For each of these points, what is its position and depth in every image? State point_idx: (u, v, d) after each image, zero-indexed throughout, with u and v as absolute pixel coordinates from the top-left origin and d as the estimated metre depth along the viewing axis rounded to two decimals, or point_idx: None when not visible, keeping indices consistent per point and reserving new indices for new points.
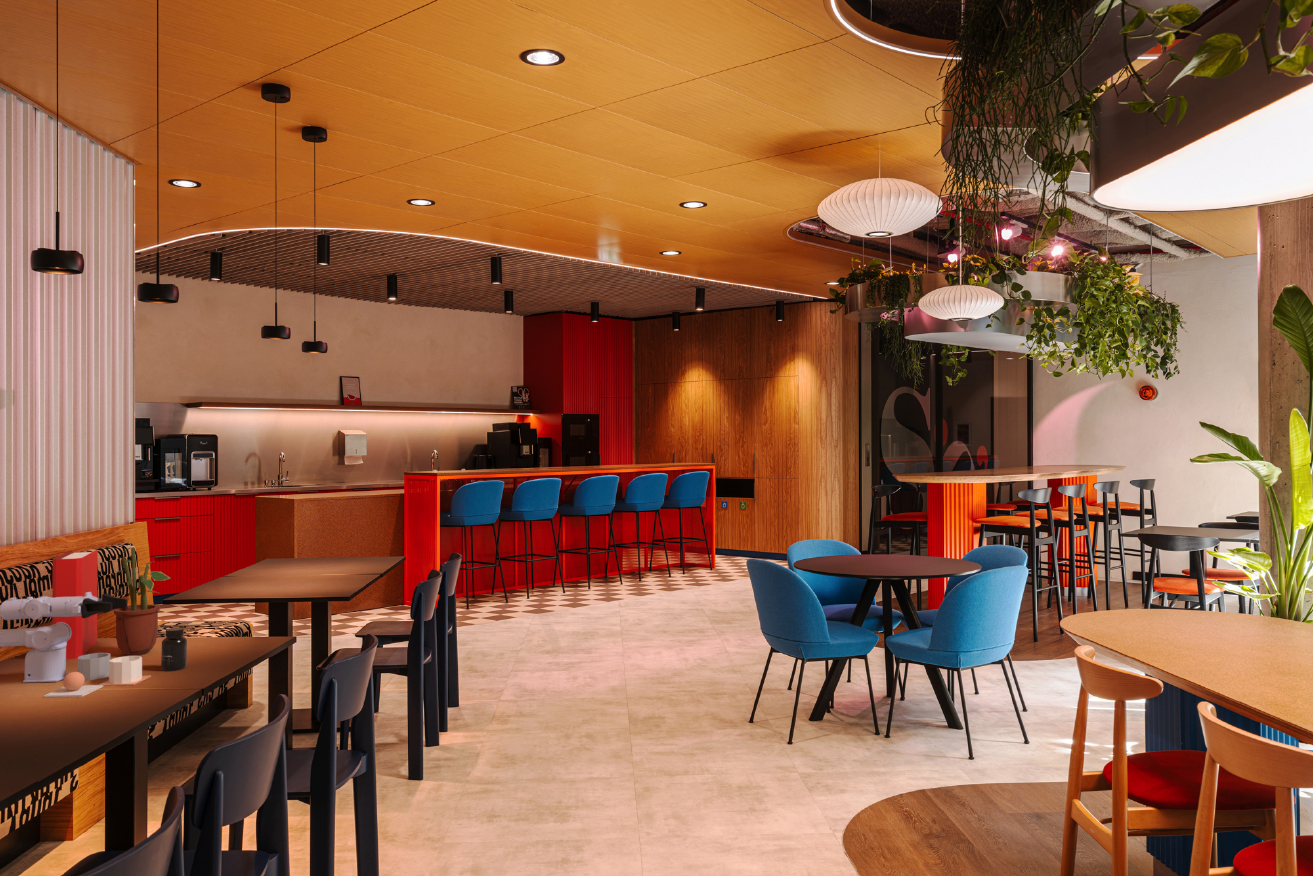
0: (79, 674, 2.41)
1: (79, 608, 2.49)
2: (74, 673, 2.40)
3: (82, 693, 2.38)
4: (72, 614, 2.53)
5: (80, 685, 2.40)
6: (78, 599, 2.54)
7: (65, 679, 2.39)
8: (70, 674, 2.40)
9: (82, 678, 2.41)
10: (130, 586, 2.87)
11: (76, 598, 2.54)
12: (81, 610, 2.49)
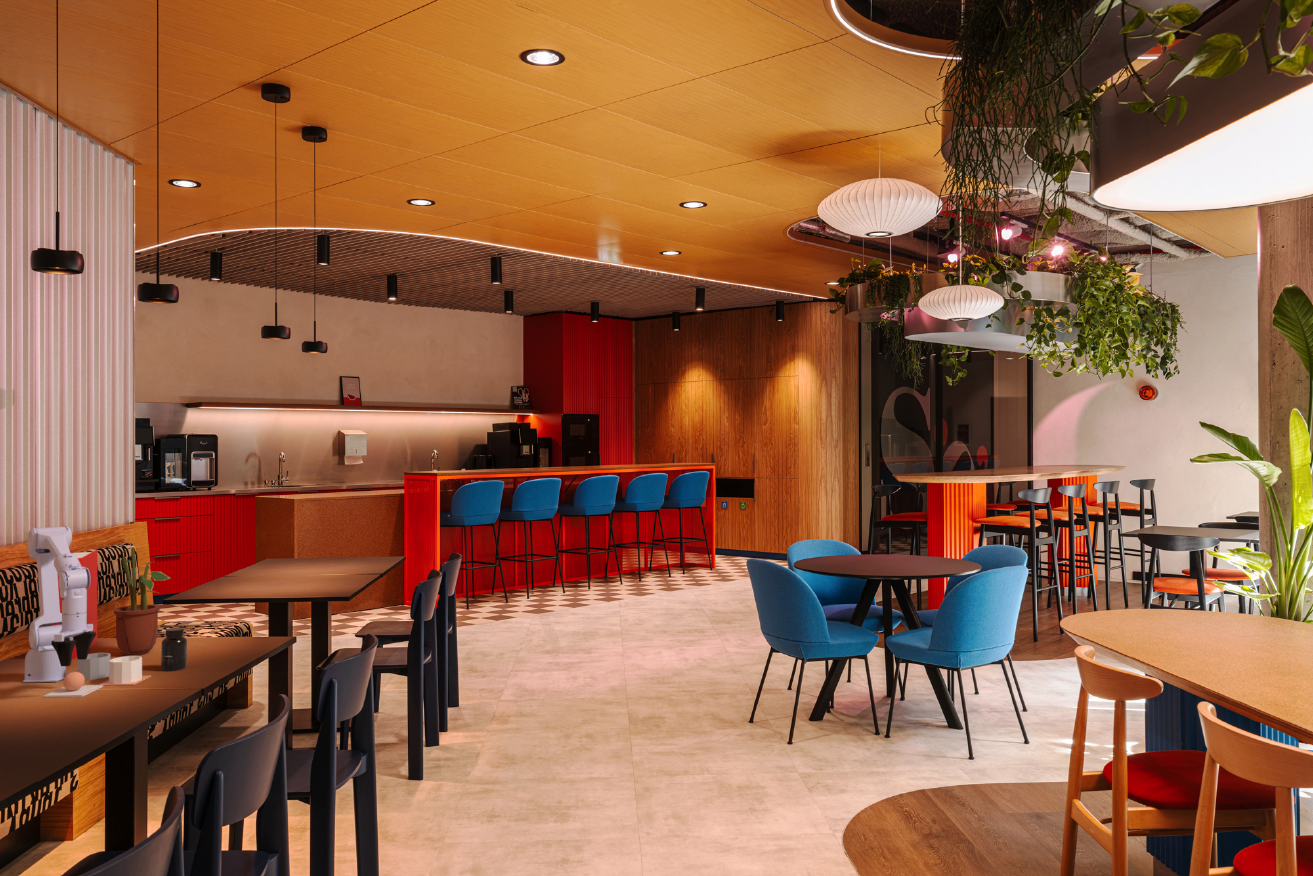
0: (79, 674, 2.41)
1: None
2: (74, 673, 2.40)
3: (82, 693, 2.38)
4: (62, 619, 2.39)
5: (80, 685, 2.40)
6: (78, 625, 2.40)
7: (65, 679, 2.39)
8: (70, 674, 2.40)
9: (82, 678, 2.41)
10: (130, 586, 2.87)
11: (80, 621, 2.40)
12: None
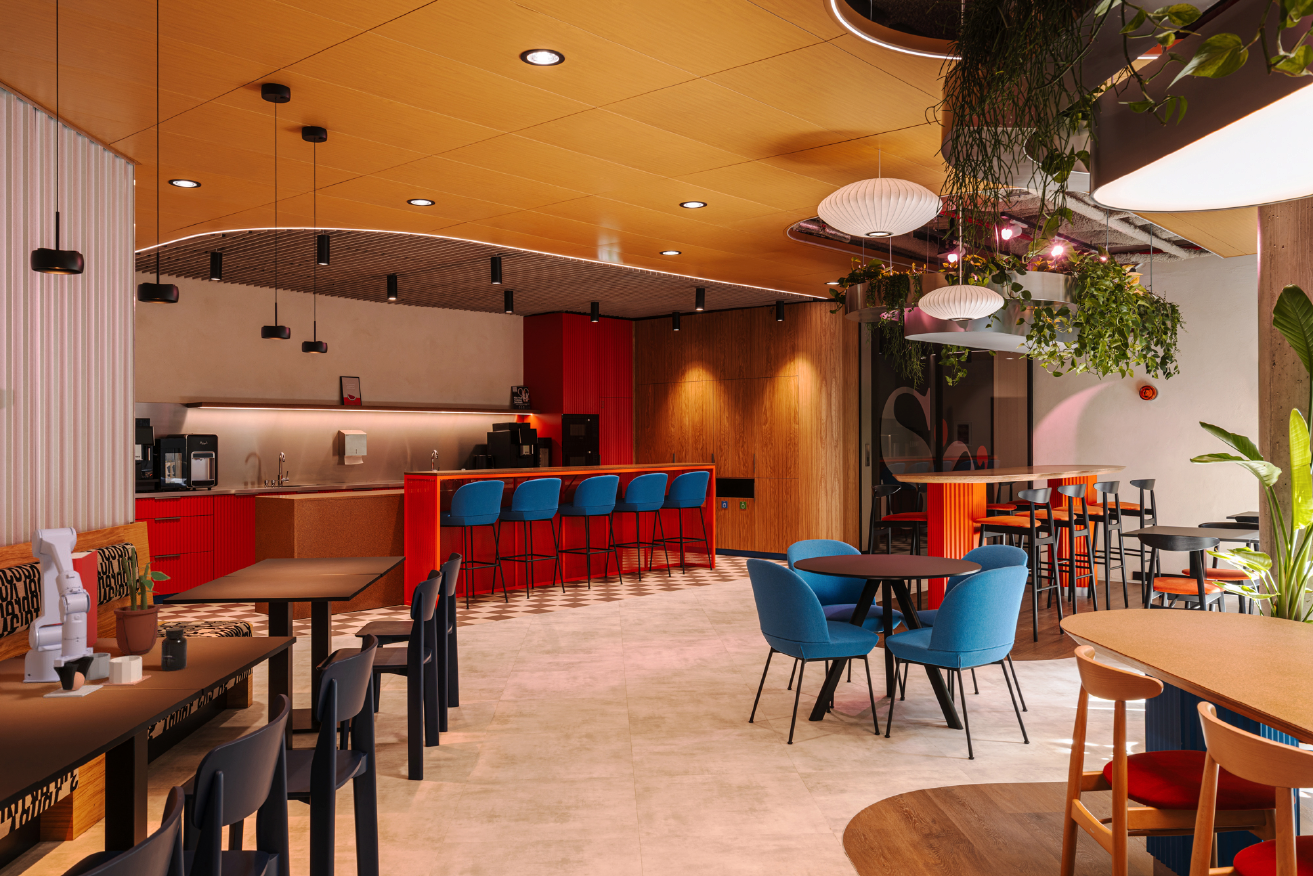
0: (79, 674, 2.41)
1: None
2: None
3: (82, 693, 2.38)
4: (62, 644, 2.39)
5: (80, 685, 2.40)
6: (78, 649, 2.39)
7: None
8: None
9: (82, 678, 2.41)
10: (130, 586, 2.87)
11: (80, 646, 2.40)
12: None
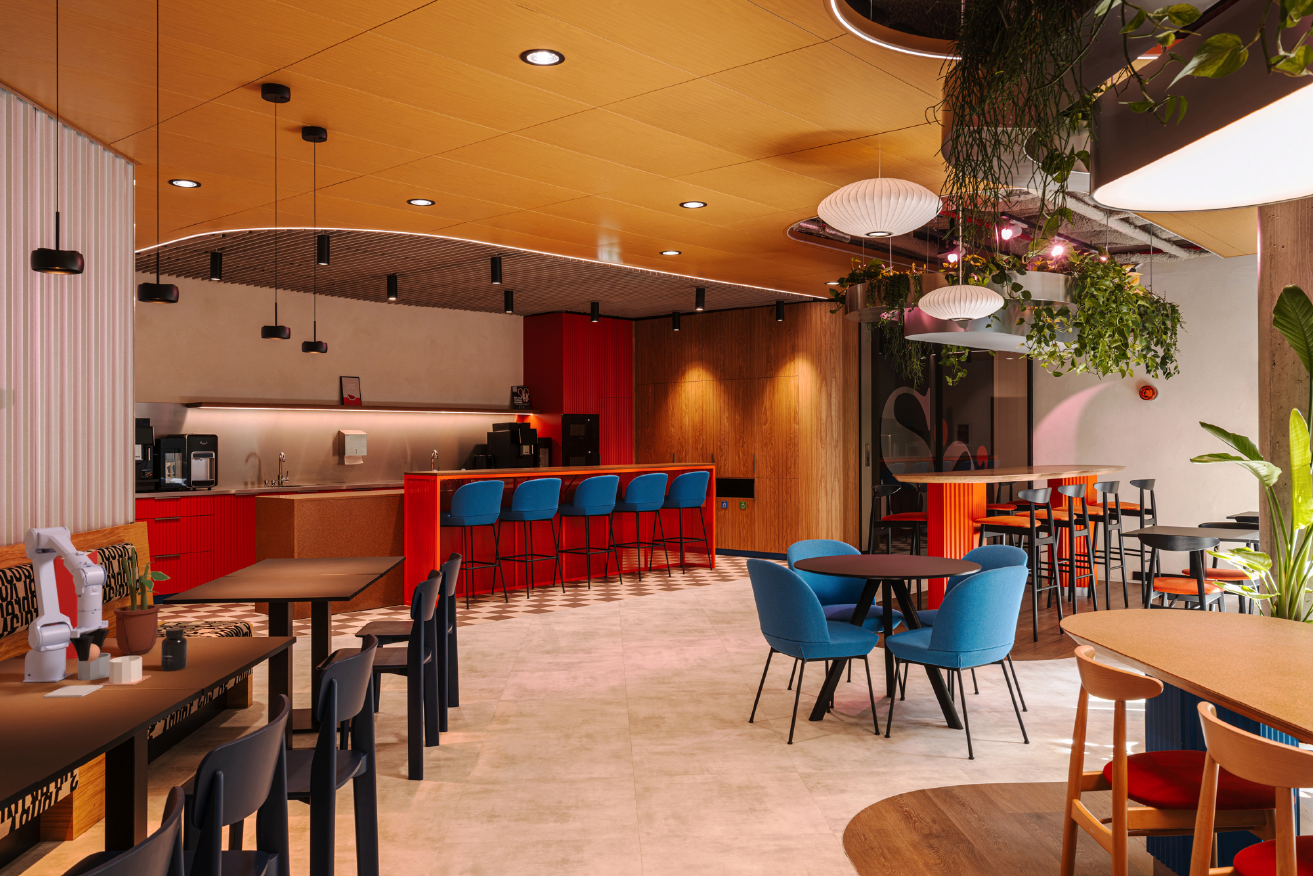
0: (94, 646, 2.44)
1: None
2: None
3: (82, 693, 2.38)
4: (78, 616, 2.42)
5: (95, 657, 2.44)
6: (94, 621, 2.43)
7: None
8: None
9: (97, 650, 2.44)
10: (130, 586, 2.87)
11: (96, 618, 2.43)
12: None
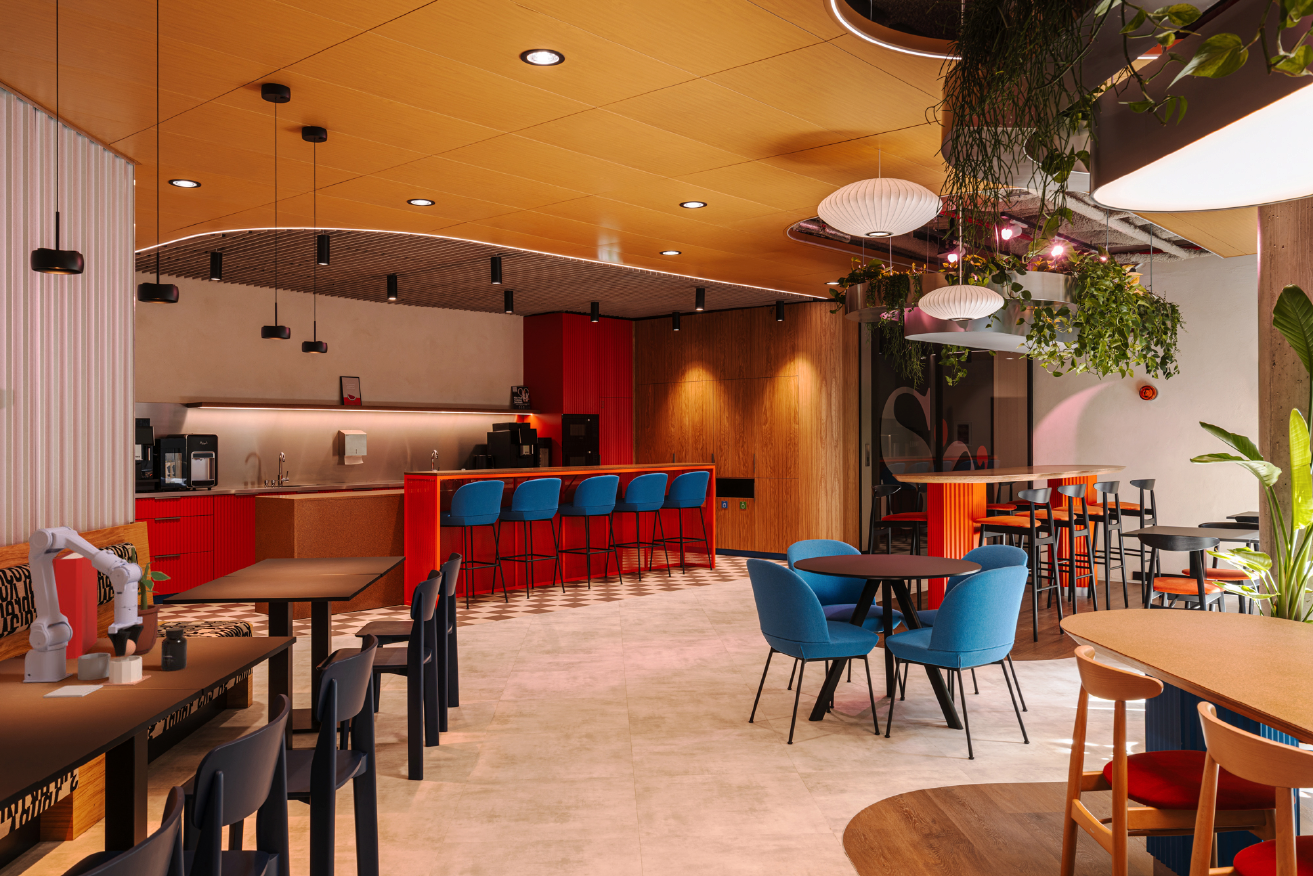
0: (131, 641, 2.53)
1: None
2: None
3: (82, 693, 2.38)
4: (114, 612, 2.51)
5: (132, 652, 2.52)
6: (130, 617, 2.51)
7: None
8: None
9: (133, 645, 2.53)
10: None
11: (132, 614, 2.52)
12: (114, 632, 2.47)
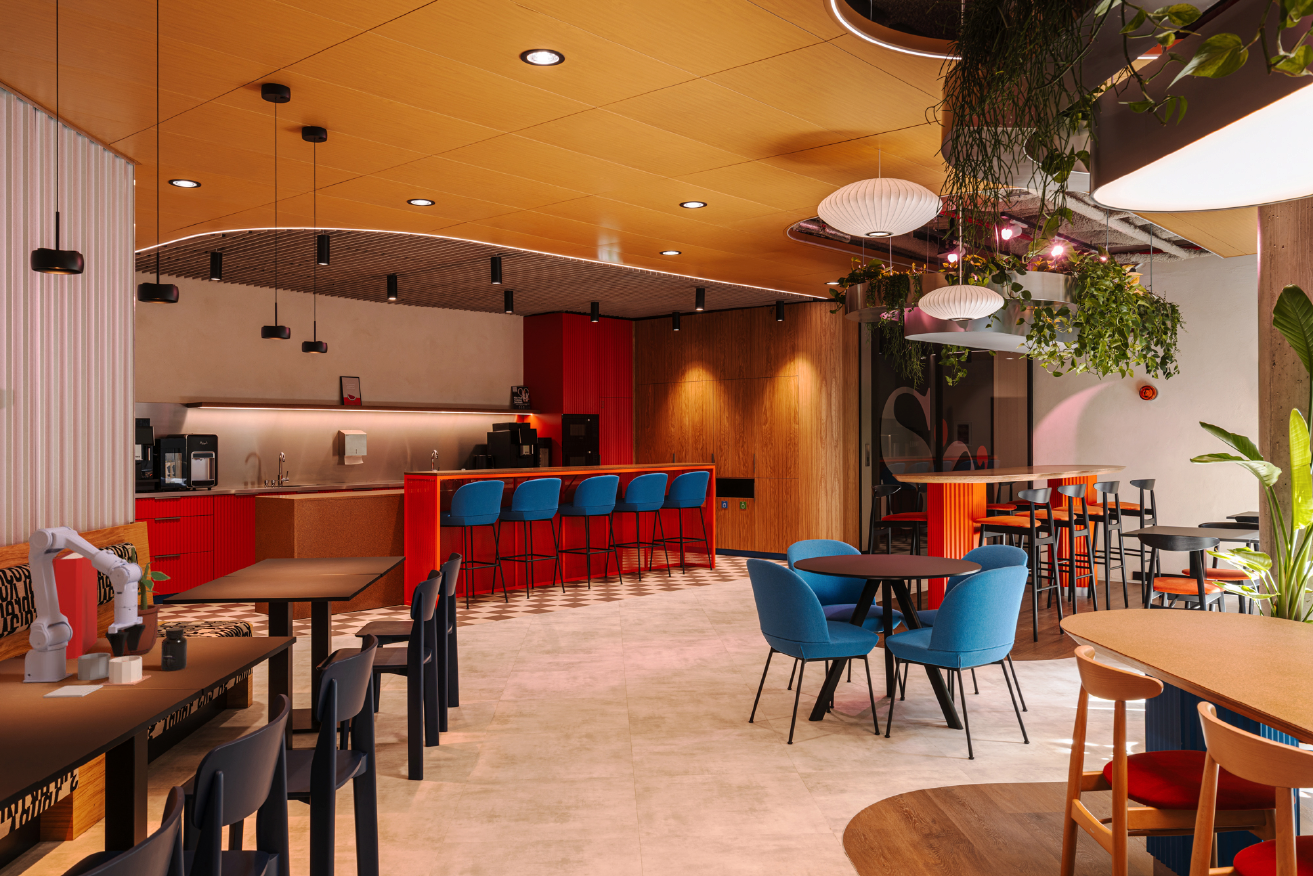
0: None
1: None
2: None
3: (82, 693, 2.38)
4: (114, 612, 2.51)
5: None
6: (130, 617, 2.51)
7: None
8: None
9: None
10: None
11: (132, 614, 2.52)
12: (112, 633, 2.46)
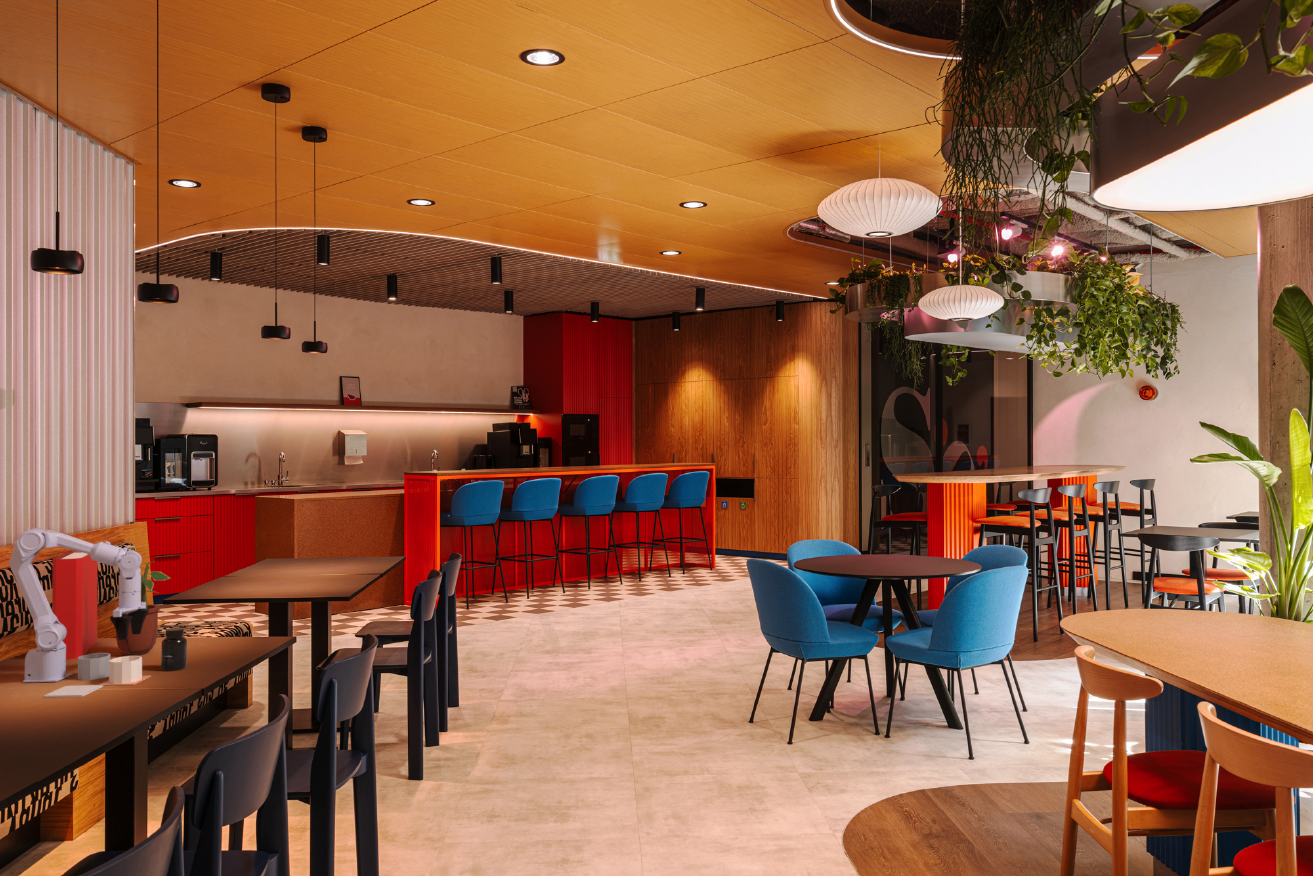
0: None
1: None
2: None
3: (82, 693, 2.38)
4: (119, 597, 2.62)
5: None
6: (134, 602, 2.62)
7: None
8: None
9: None
10: None
11: (135, 599, 2.62)
12: (116, 617, 2.57)
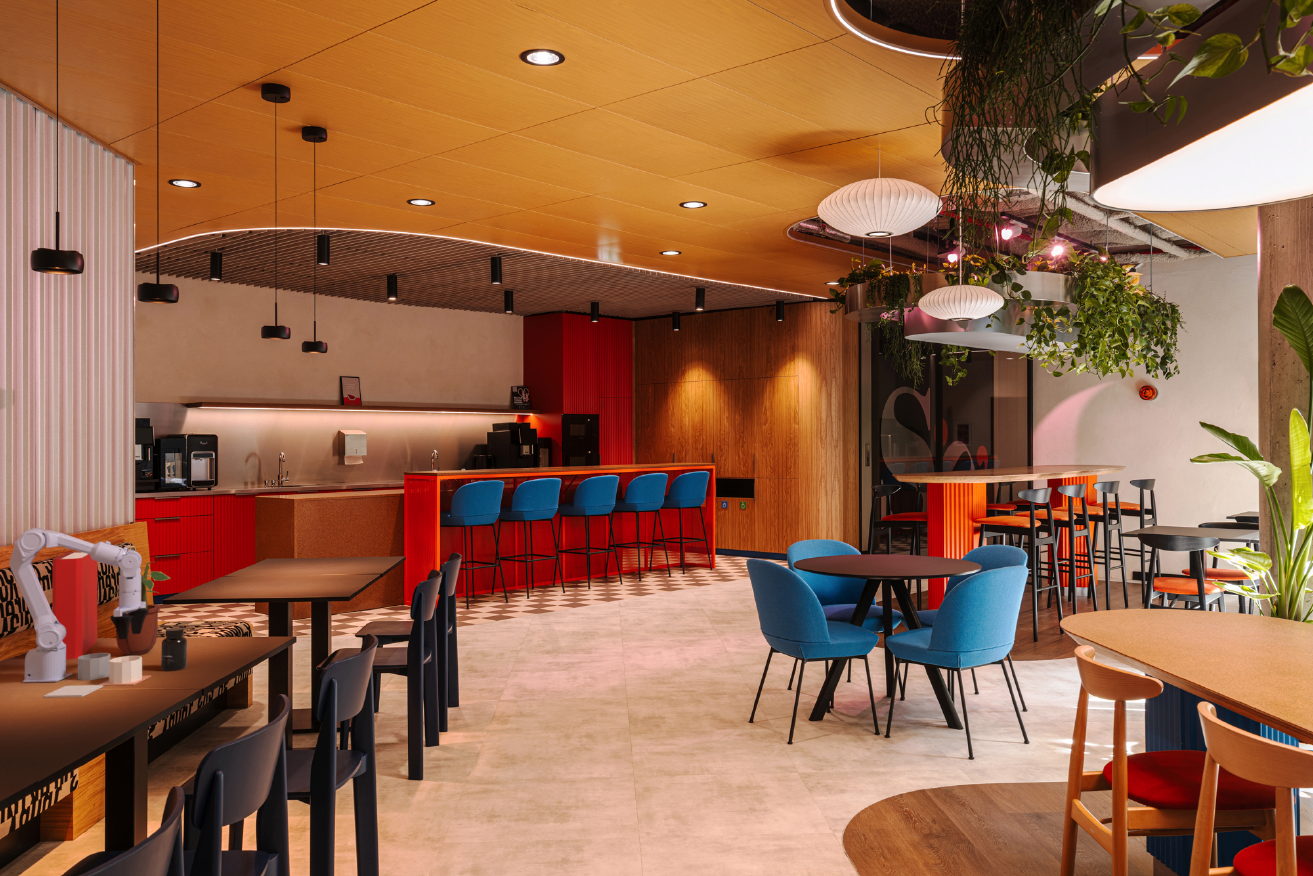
0: None
1: None
2: None
3: (82, 693, 2.38)
4: (119, 597, 2.62)
5: None
6: (134, 602, 2.63)
7: None
8: None
9: None
10: None
11: (136, 599, 2.63)
12: None
